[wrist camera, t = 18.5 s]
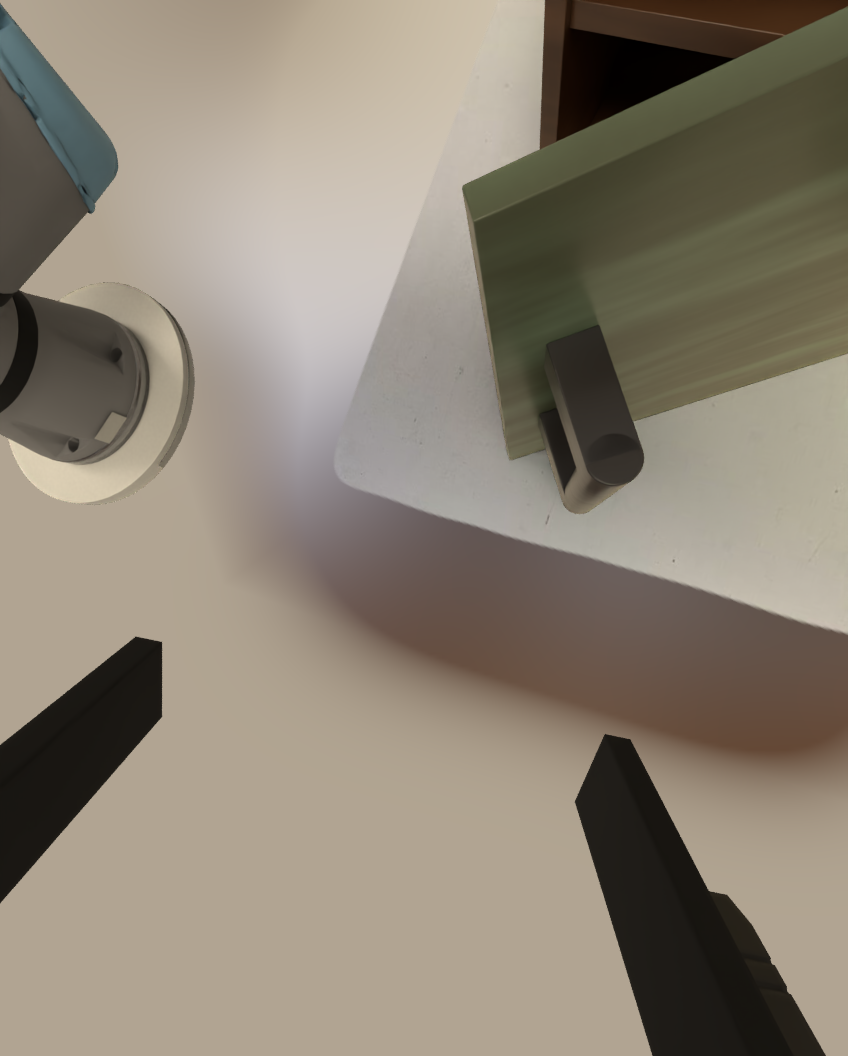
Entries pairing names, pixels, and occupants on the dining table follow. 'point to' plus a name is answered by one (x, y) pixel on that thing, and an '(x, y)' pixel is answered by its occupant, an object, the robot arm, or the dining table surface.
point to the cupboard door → (667, 256)
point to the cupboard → (648, 49)
